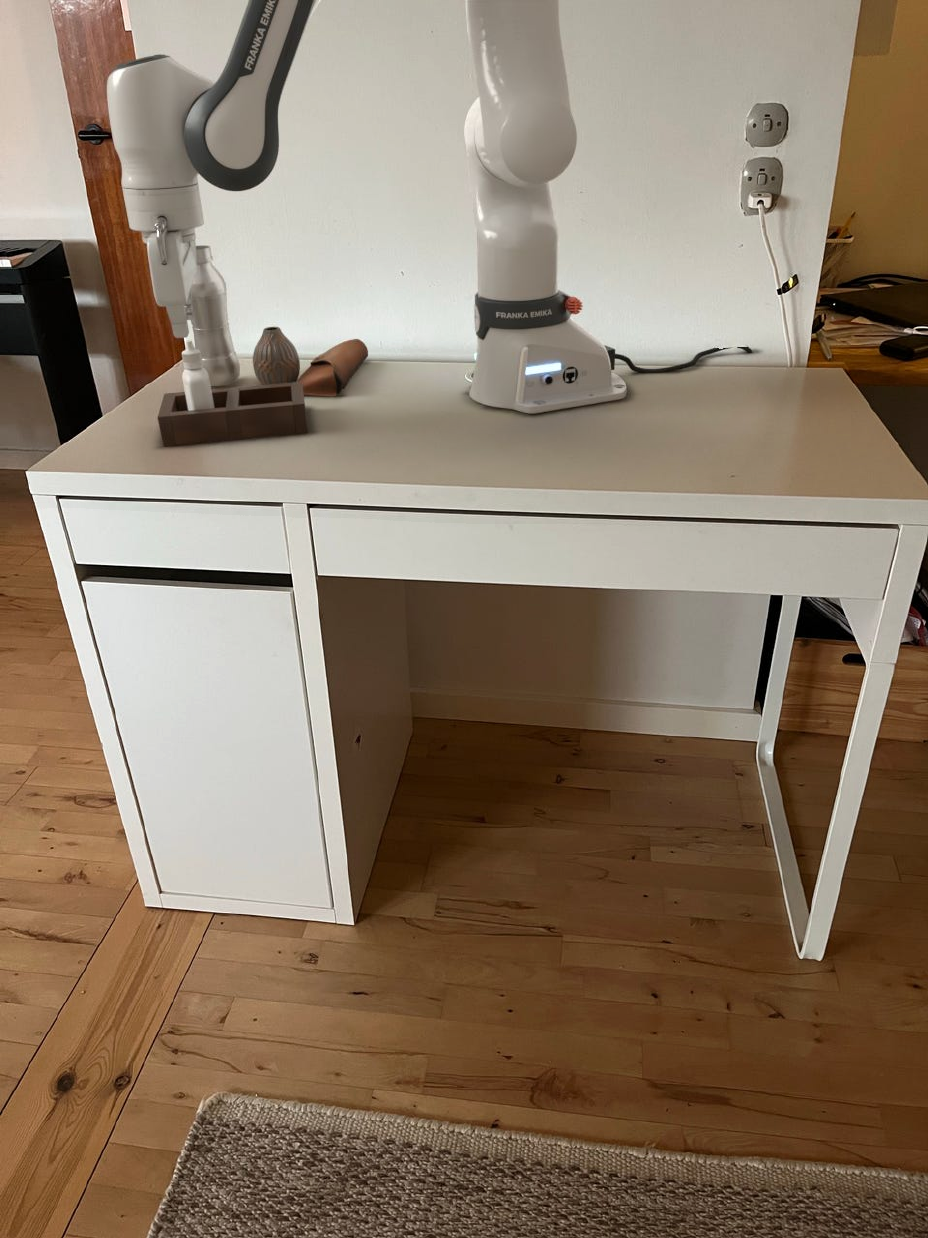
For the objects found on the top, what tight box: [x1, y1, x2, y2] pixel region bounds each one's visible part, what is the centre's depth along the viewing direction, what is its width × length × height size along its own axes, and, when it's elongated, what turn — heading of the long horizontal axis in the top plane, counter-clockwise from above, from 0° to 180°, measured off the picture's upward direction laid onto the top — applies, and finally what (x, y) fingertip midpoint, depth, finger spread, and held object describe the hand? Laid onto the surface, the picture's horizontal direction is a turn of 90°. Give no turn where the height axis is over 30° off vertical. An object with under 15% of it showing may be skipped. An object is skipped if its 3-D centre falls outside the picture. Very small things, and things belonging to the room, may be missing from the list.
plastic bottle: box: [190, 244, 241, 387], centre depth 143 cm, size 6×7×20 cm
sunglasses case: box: [296, 338, 369, 398], centre depth 148 cm, size 18×7×7 cm, turn 173°
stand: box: [156, 382, 309, 447], centre depth 129 cm, size 19×10×4 cm, turn 100°
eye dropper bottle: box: [181, 339, 214, 411], centre depth 127 cm, size 4×6×12 cm
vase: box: [252, 326, 301, 385], centre depth 143 cm, size 7×7×9 cm
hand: (184, 327), depth 123 cm, fingers open, 8 cm apart
